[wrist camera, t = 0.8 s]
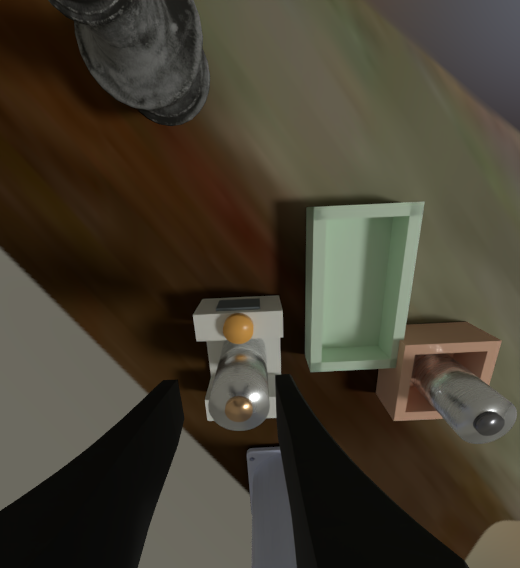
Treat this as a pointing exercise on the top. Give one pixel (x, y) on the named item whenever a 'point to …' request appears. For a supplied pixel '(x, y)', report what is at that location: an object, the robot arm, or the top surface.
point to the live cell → (240, 386)
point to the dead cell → (462, 398)
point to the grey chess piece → (144, 53)
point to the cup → (433, 340)
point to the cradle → (241, 332)
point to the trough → (358, 283)
